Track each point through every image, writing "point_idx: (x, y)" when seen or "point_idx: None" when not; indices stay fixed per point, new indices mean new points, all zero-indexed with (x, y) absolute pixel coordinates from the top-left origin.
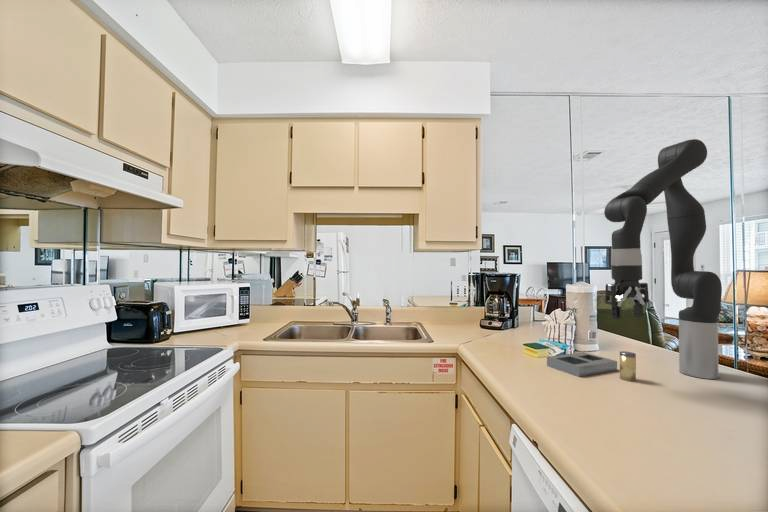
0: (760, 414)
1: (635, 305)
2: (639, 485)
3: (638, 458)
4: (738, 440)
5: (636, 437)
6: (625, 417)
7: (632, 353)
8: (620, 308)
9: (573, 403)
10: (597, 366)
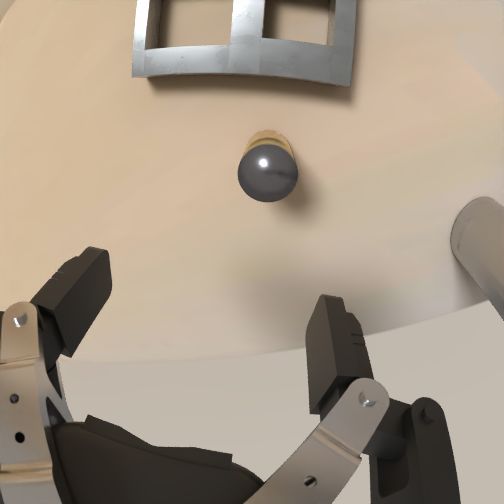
0: (283, 350)
1: (329, 380)
2: None
3: None
4: (145, 351)
5: None
6: None
7: (279, 188)
8: (72, 345)
9: (26, 199)
10: (231, 73)
